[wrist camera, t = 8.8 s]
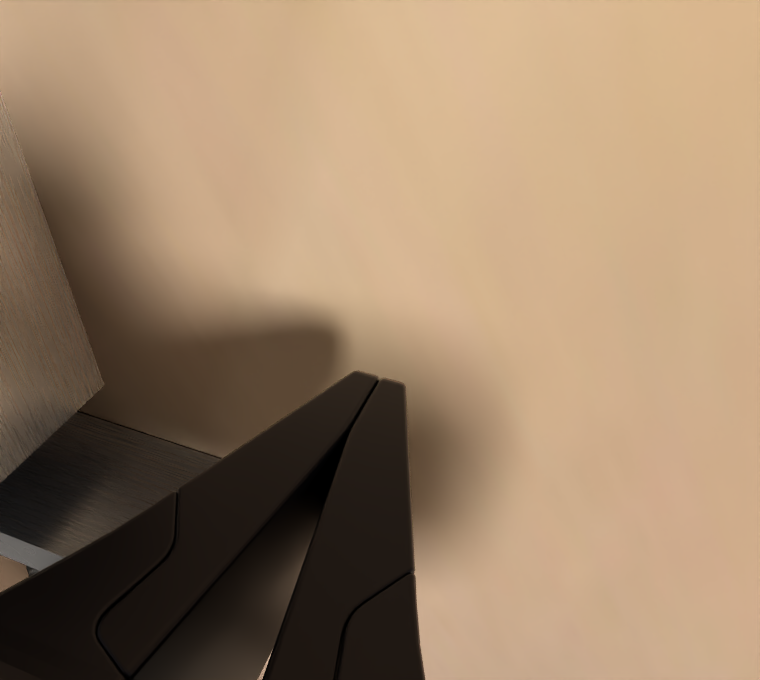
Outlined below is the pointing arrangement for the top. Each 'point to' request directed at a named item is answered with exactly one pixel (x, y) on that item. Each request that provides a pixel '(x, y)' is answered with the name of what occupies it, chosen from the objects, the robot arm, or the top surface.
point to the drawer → (34, 319)
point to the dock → (87, 487)
